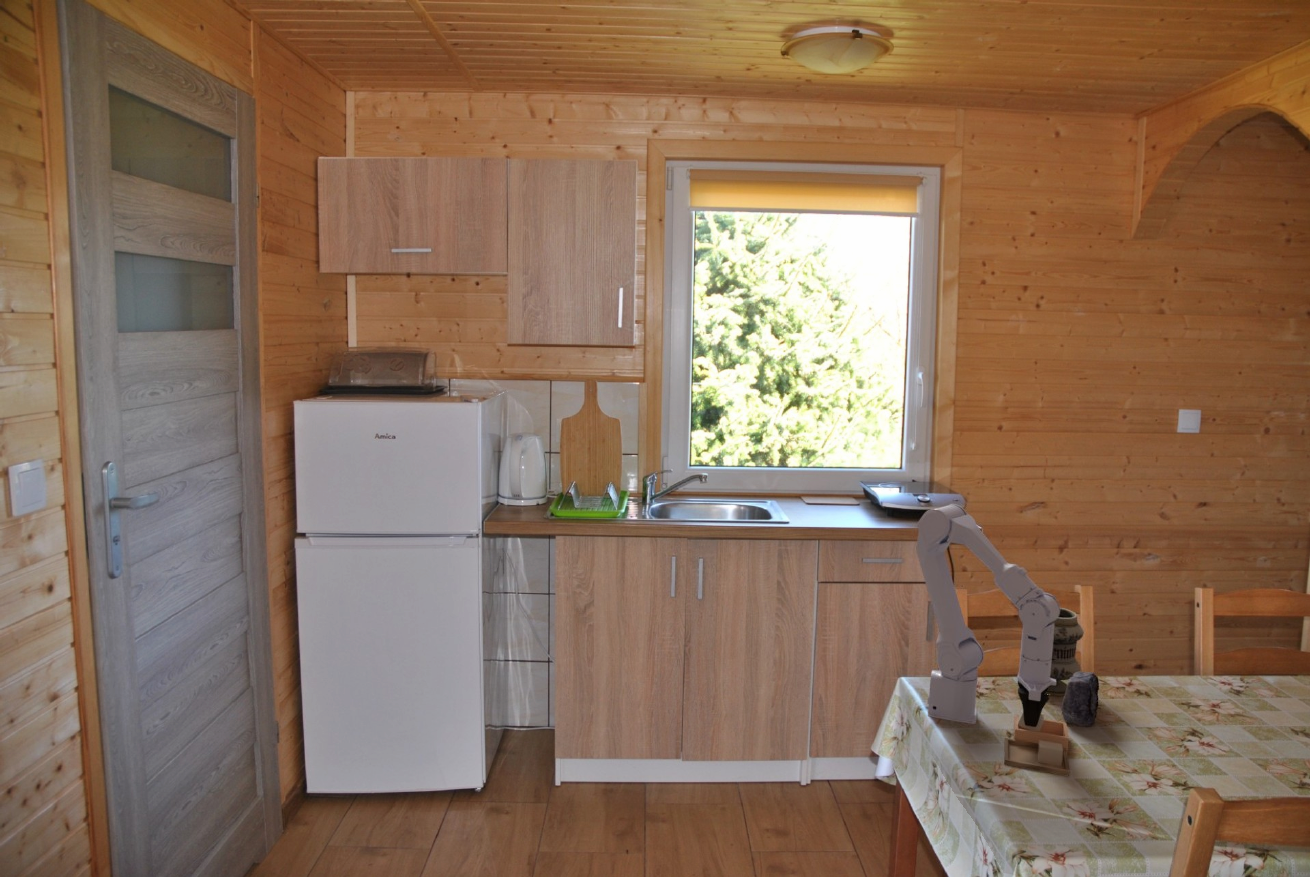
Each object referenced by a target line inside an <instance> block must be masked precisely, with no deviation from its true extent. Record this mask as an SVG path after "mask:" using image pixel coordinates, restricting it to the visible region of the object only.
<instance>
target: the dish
mask: <svg viewBox="0 0 1310 877" xmlns="http://www.w3.org/2000/svg"><path fill="white" fill-rule="evenodd" d="M1018 716H1019V714H1017V713H1016V714H1015V713H1014V719H1013V739H1015V740H1020V741H1026V742H1032V743H1038V744H1039V740H1041V741H1047V742H1053V743H1058V744H1062V748H1066V751H1067V753H1068V751H1069V740H1070V739H1069V733H1068V732H1069V730H1068V726H1067V722H1065V721H1064V722H1063V721H1059V720H1053V719H1048V718H1047V719H1045V718H1044V722H1043V724H1042V727H1041V729H1040V731H1039V732H1035V731H1030V730H1028V729H1026V728H1023V727H1021V726H1019V725H1017V718H1018Z"/></svg>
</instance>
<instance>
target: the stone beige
mask: <svg viewBox="0 0 1310 877" xmlns="http://www.w3.org/2000/svg"><path fill="white" fill-rule="evenodd" d="M1062 755H1063V748H1062V744H1058V743H1053V742H1047V741H1041V740H1039V746H1038V762H1041V763H1046V764H1052V765H1057V766H1062Z"/></svg>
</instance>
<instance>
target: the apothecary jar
mask: <svg viewBox="0 0 1310 877" xmlns="http://www.w3.org/2000/svg"><path fill="white" fill-rule="evenodd" d="M1051 623H1055V624H1054V639H1053V651H1052V662H1051V673H1050V678H1052V679H1056V685H1055V686H1054V685H1050V686H1048V690H1047V691H1046V693H1045V694H1050V695H1049V696H1053V695H1055V696H1054V697H1065V692H1066V688H1067V685H1068V683H1065V682H1064V681H1067V680H1068V681H1069V679H1070V678H1071V677H1073V675H1074V673H1076V672H1079V671H1081V664H1080V663H1079V661H1078V660H1077V659H1076V653H1077V652H1076V650H1077V645H1078V644H1077V643H1078V641H1080V640H1081V639H1082V638H1083V637H1084V632H1085V631H1084V628H1083V627H1082V625H1081V624H1080V623H1079V622H1078V615H1077V613H1076V612H1075V611H1072V610H1070V609H1067V608H1064V607H1060V614H1059V616H1058V618H1057V619H1056V620H1055V621H1053V622H1051Z"/></svg>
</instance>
